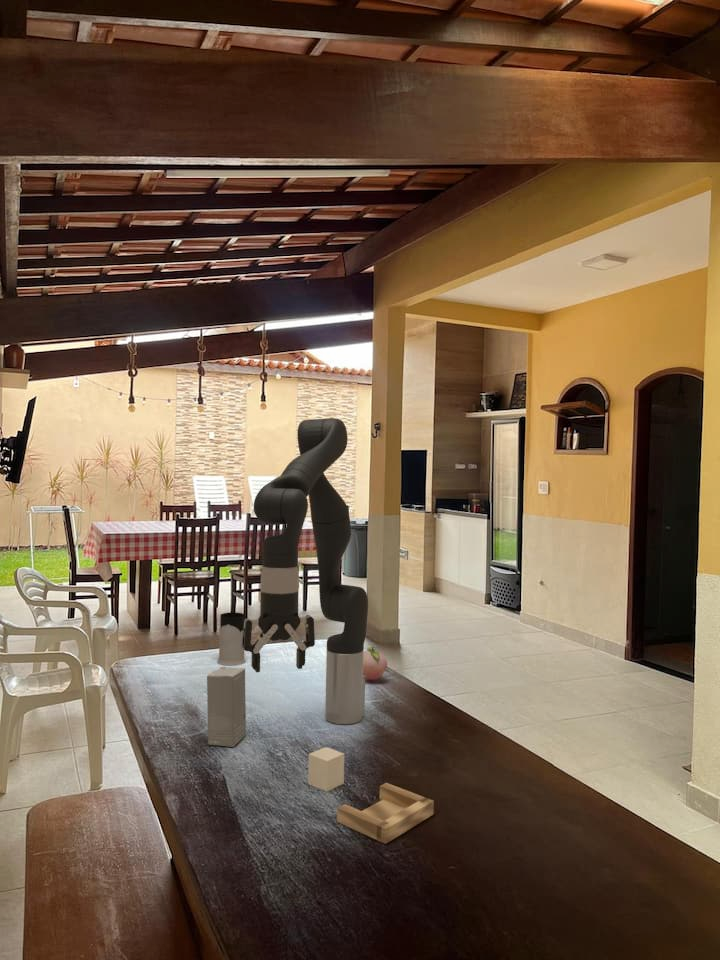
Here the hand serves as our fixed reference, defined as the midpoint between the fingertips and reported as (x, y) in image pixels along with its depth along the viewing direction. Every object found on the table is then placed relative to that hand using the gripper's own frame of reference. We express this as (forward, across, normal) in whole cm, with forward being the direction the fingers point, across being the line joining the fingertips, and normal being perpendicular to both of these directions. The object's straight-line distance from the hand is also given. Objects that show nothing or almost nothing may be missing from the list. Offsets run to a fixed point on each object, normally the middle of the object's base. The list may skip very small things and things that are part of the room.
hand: (278, 669), depth 145 cm
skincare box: (+22, +6, -24) cm, 33 cm away
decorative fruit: (+23, -41, -57) cm, 74 cm away
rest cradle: (+22, -16, +22) cm, 35 cm away
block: (+22, -9, +4) cm, 24 cm away
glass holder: (+23, -6, -90) cm, 93 cm away
